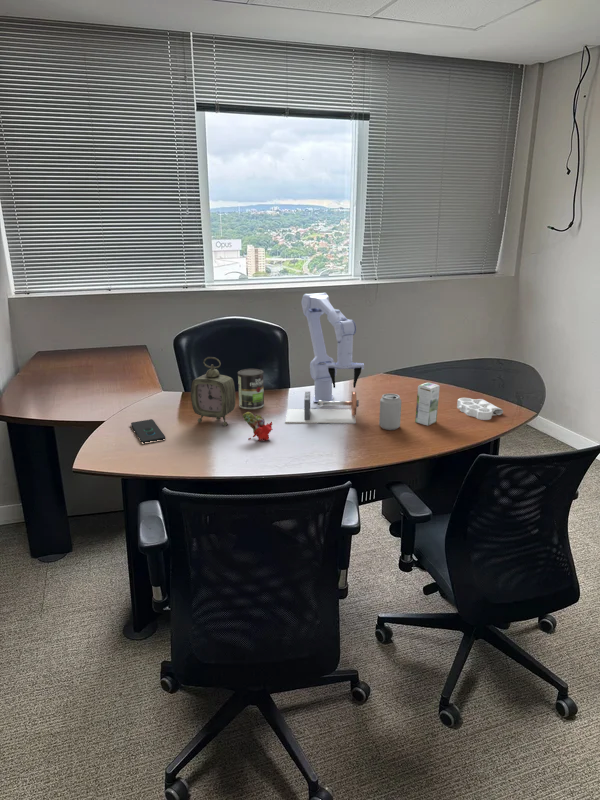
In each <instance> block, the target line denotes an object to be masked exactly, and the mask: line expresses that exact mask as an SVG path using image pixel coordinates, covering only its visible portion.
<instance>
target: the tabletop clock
mask: <svg viewBox="0 0 600 800" xmlns="http://www.w3.org/2000/svg"><path fill="white" fill-rule="evenodd" d="M210 359H211V360H215V361H217V362H218V363H219V365H218V366H214V364H211V365H208V364H206V363H205V362H206V361H207V360H210ZM203 364H204V367H206V368H208V369H207V371H206V373H205V374H202V375H201V376H198V377H197V378H195V379H193V380H192V381H191V385H190V398H191V399H190V400H191V406H192V409H193V412H194V414H197V415H199V416H200V418H197V422H198V423H199V424H200V423H202V422H203V418H204V417H206V418H216V421H220V420H221V418H222V419H223V422H222V423H223V426H224V427H227V426H228V421H226V416H227V415H229V414H230V413H232V412H233V411H234V410H235V407H236V397H237V395H236V388H235V387H236V386H235V381H234V379H233V378H232V377H231V376H228V375H226V374H220V372H219V370H218V369H219V368H220V367H221V365H222V363H221V360H219V358H217V357H214V356H207V357H205V358H204V359H203Z"/></svg>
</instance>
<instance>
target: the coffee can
mask: <svg viewBox="0 0 600 800" xmlns="http://www.w3.org/2000/svg"><path fill="white" fill-rule="evenodd" d="M237 381H238V383H237V385H238V386H237V387H238V403H239V404H238V405H239V408H241V409H245V410H258V409H261V408H263V407H264V406H265V395H264V394H265V391H264V389H265V388H264V387H265V386H264V370H262V369H259V368H244V369H241V370H238V371H237Z"/></svg>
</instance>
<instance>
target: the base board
mask: <svg viewBox="0 0 600 800" xmlns="http://www.w3.org/2000/svg"><path fill="white" fill-rule="evenodd" d="M317 423H344V424H345V425H346V424H347V425H349V424H350V425H351V424H352V425H355V424H357V422H356V415H352V414H351V409H348V408H347V409H346V408H345V409H343V408H341V409H340V408H339V409H338V408H336V409H332V408H328V409H327V408H325V409H324V408H318V409H317V408H310V420H304V408H287V411H286V416H285V422H284V424H317Z"/></svg>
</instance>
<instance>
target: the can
mask: <svg viewBox="0 0 600 800" xmlns="http://www.w3.org/2000/svg"><path fill="white" fill-rule="evenodd" d="M401 412H402V399H401V397H400V395H399V394H397V393H384V394H382V395H381V398H380V400H379V417H378V418H379V420H378V421H379V422H378V426H379V427H381V429H383V430H387V431H394V430H398V428H400V427H401V417H402V413H401Z"/></svg>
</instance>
